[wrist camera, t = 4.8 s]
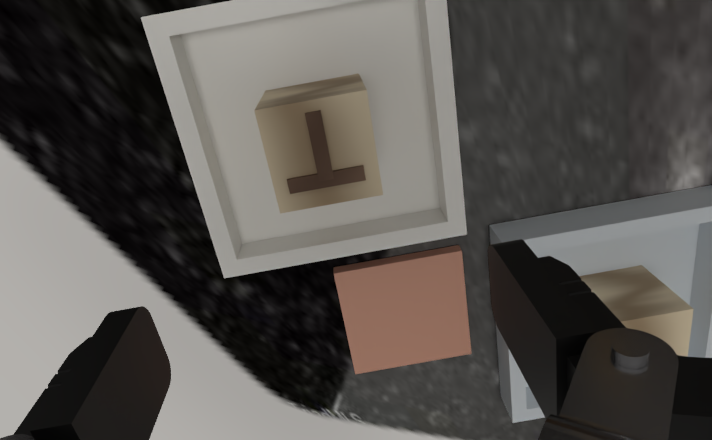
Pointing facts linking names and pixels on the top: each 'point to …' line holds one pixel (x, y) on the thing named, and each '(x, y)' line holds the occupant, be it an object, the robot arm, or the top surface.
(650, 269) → the blue tray
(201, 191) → the white tray
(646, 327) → the plain cube
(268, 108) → the letter cube
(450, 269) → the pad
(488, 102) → the top surface
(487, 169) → the top surface
